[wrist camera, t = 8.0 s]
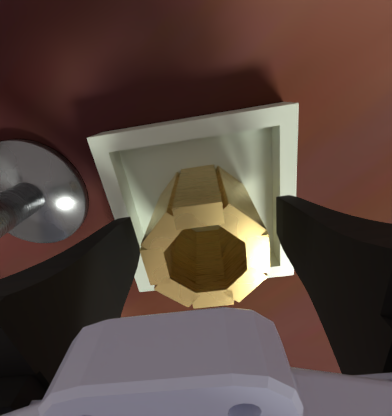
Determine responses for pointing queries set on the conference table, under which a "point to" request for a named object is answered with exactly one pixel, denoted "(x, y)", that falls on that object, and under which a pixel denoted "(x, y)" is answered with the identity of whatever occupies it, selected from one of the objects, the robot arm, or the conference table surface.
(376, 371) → the robot arm
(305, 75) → the conference table surface
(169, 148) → the tray
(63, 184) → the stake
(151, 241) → the collar
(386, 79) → the conference table surface
